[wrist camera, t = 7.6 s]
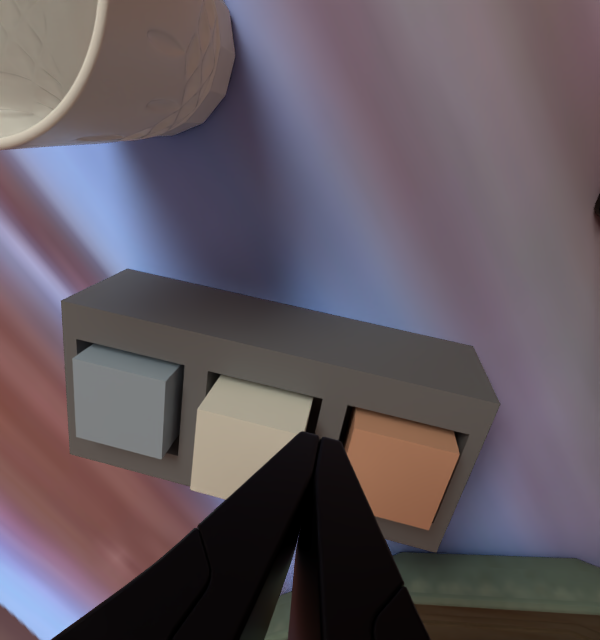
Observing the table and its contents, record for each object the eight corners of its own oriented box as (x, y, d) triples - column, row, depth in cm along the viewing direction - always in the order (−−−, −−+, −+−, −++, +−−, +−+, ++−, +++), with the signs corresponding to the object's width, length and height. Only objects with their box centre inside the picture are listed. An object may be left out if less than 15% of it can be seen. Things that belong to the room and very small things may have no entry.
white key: (314, 391, 18) (303, 435, 15) (298, 464, 20) (285, 515, 17) (224, 370, 18) (197, 408, 16) (215, 442, 20) (190, 490, 17)
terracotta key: (447, 409, 19) (459, 454, 16) (421, 478, 20) (428, 530, 17) (357, 387, 19) (354, 428, 16) (339, 457, 21) (333, 504, 18)
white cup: (123, 173, 20) (-90, 195, 11) (38, -18, 18) (-324, -194, 9) (276, 111, 18) (172, 74, 9) (205, -115, 16) (-41, -486, 6)
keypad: (472, 346, 20) (500, 404, 16) (424, 473, 24) (436, 552, 19) (127, 268, 22) (60, 300, 17) (126, 398, 25) (69, 453, 20)
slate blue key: (195, 348, 20) (165, 381, 17) (189, 419, 21) (161, 459, 18) (114, 329, 20) (72, 358, 17) (114, 400, 22) (76, 436, 19)
